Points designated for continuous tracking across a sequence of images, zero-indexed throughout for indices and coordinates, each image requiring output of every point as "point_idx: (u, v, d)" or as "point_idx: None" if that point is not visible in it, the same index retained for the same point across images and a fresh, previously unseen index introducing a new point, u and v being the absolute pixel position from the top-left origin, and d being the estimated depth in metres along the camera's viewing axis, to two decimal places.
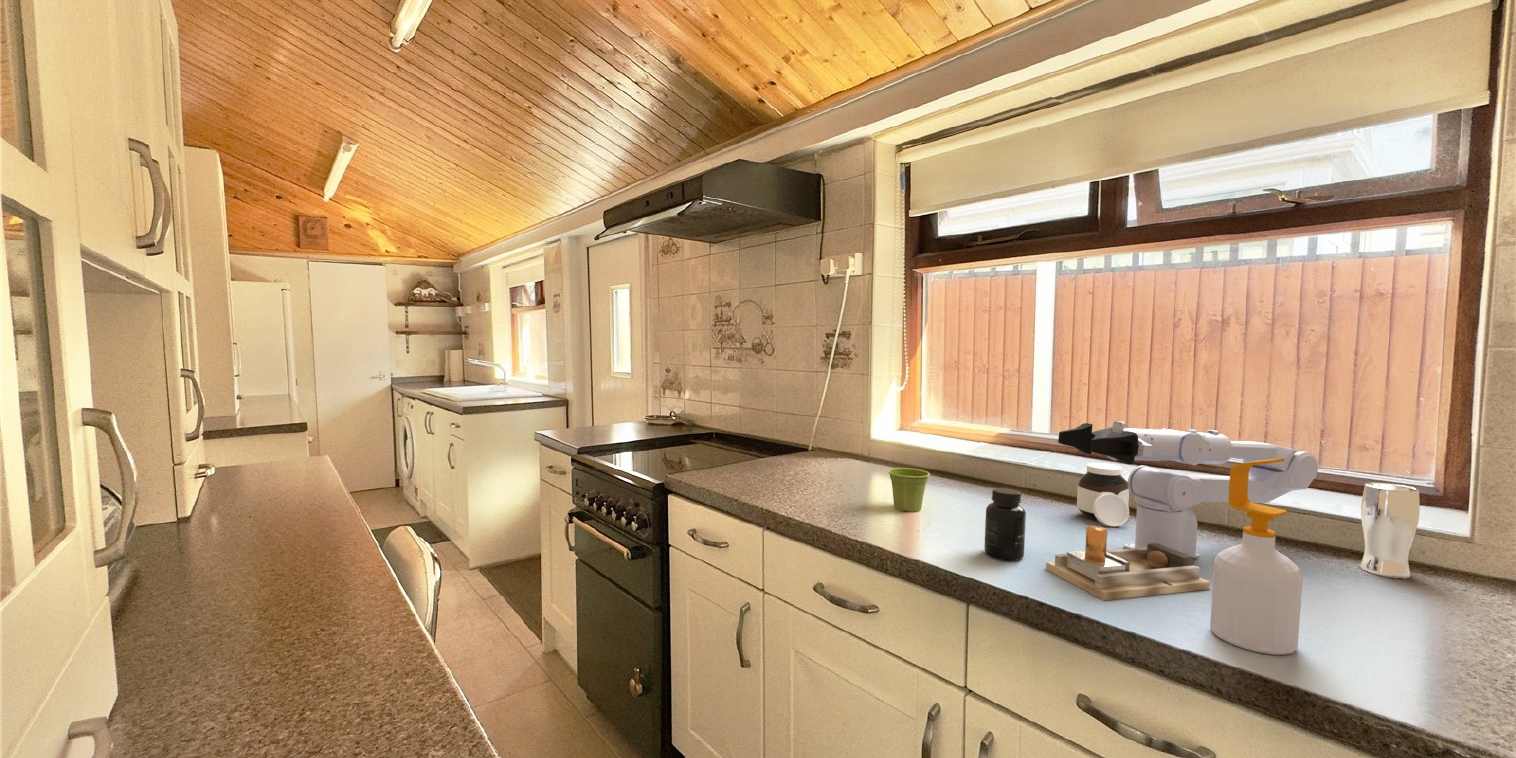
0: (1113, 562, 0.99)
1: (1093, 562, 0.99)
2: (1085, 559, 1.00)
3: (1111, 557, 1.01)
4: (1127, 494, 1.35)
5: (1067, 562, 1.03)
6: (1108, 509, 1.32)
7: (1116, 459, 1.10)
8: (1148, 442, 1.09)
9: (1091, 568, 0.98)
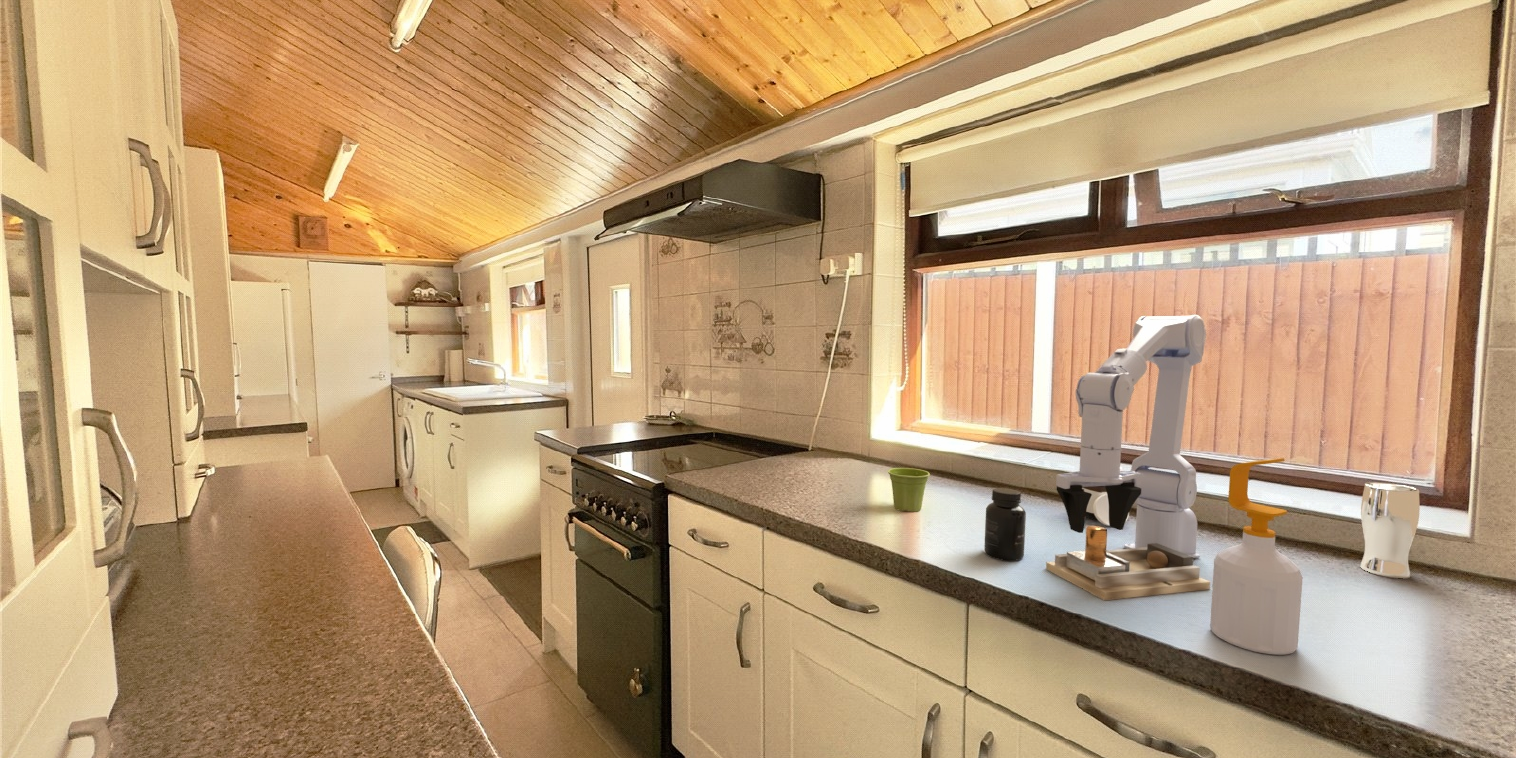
0: (1113, 562, 0.99)
1: (1093, 562, 0.99)
2: (1085, 559, 1.00)
3: (1111, 557, 1.01)
4: None
5: (1067, 562, 1.03)
6: (1108, 509, 1.32)
7: None
8: None
9: (1091, 568, 0.98)
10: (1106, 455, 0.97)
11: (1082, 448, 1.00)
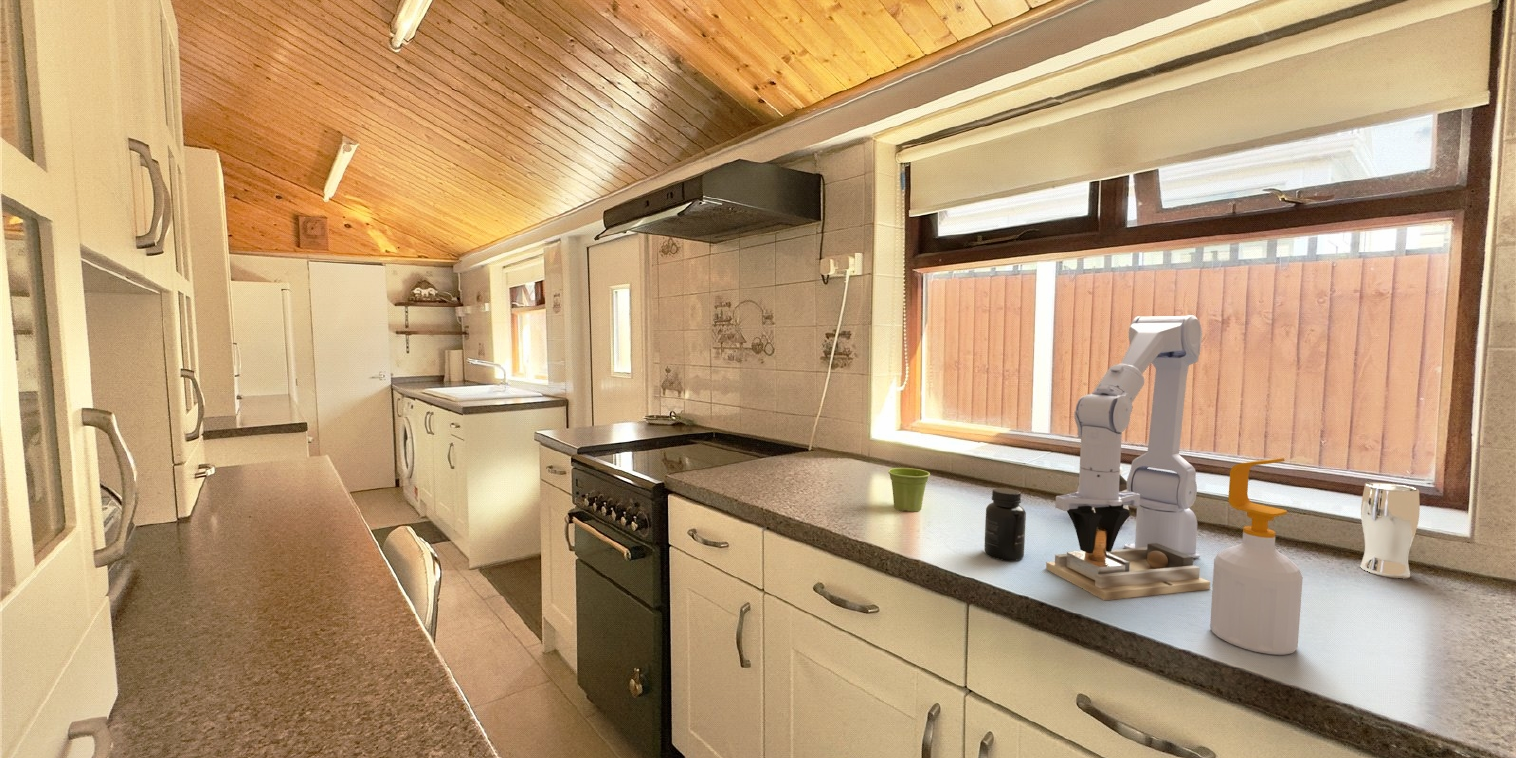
0: (1113, 562, 0.99)
1: (1093, 562, 0.99)
2: (1085, 559, 1.00)
3: (1111, 557, 1.01)
4: None
5: (1067, 562, 1.03)
6: None
7: None
8: None
9: (1091, 568, 0.98)
10: (1105, 477, 0.97)
11: (1081, 469, 1.00)
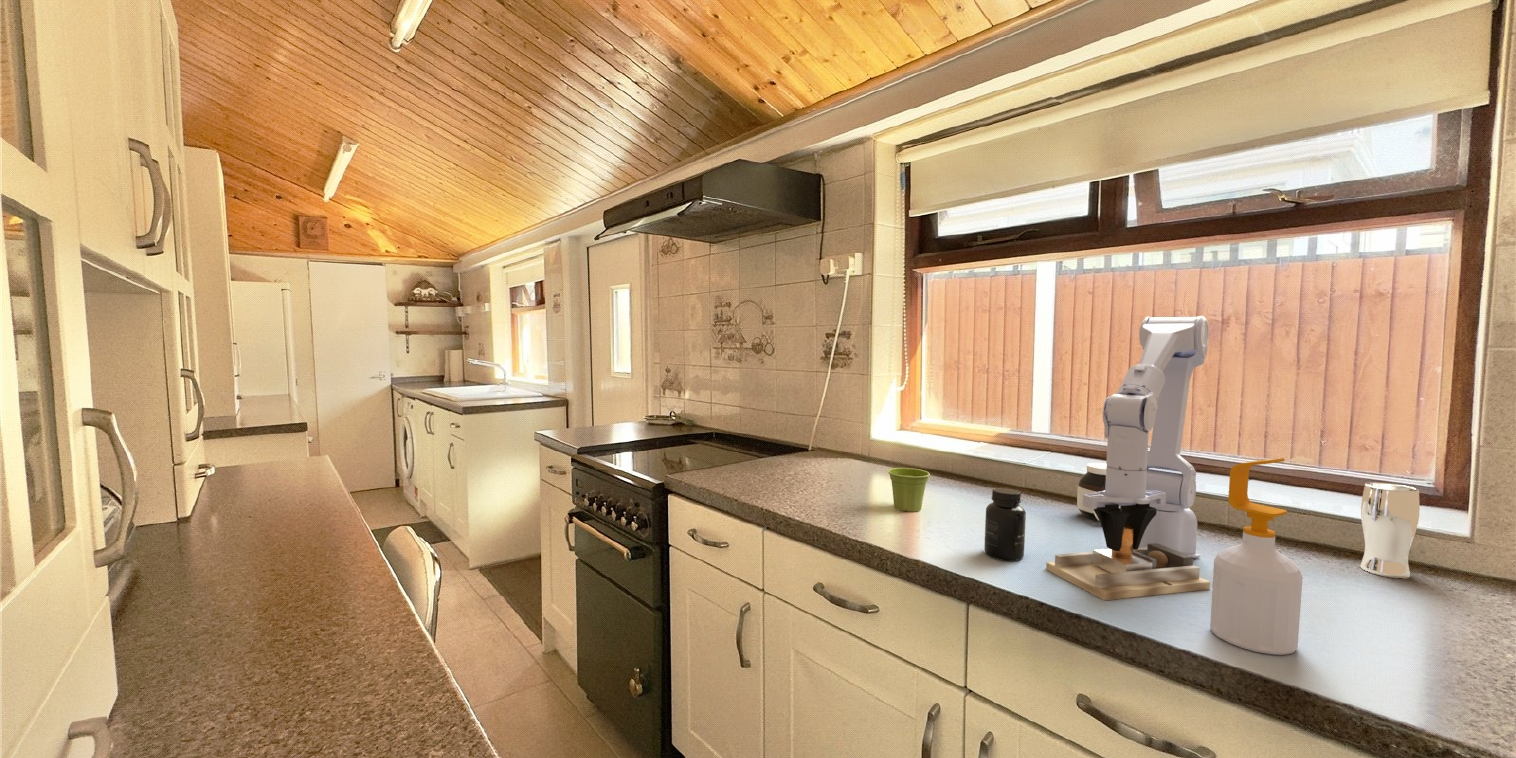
0: (1140, 560, 1.00)
1: (1121, 560, 1.00)
2: (1112, 557, 1.01)
3: (1137, 555, 1.02)
4: None
5: (1093, 560, 1.05)
6: None
7: None
8: None
9: (1119, 565, 0.99)
10: (1132, 476, 0.98)
11: (1108, 468, 1.01)
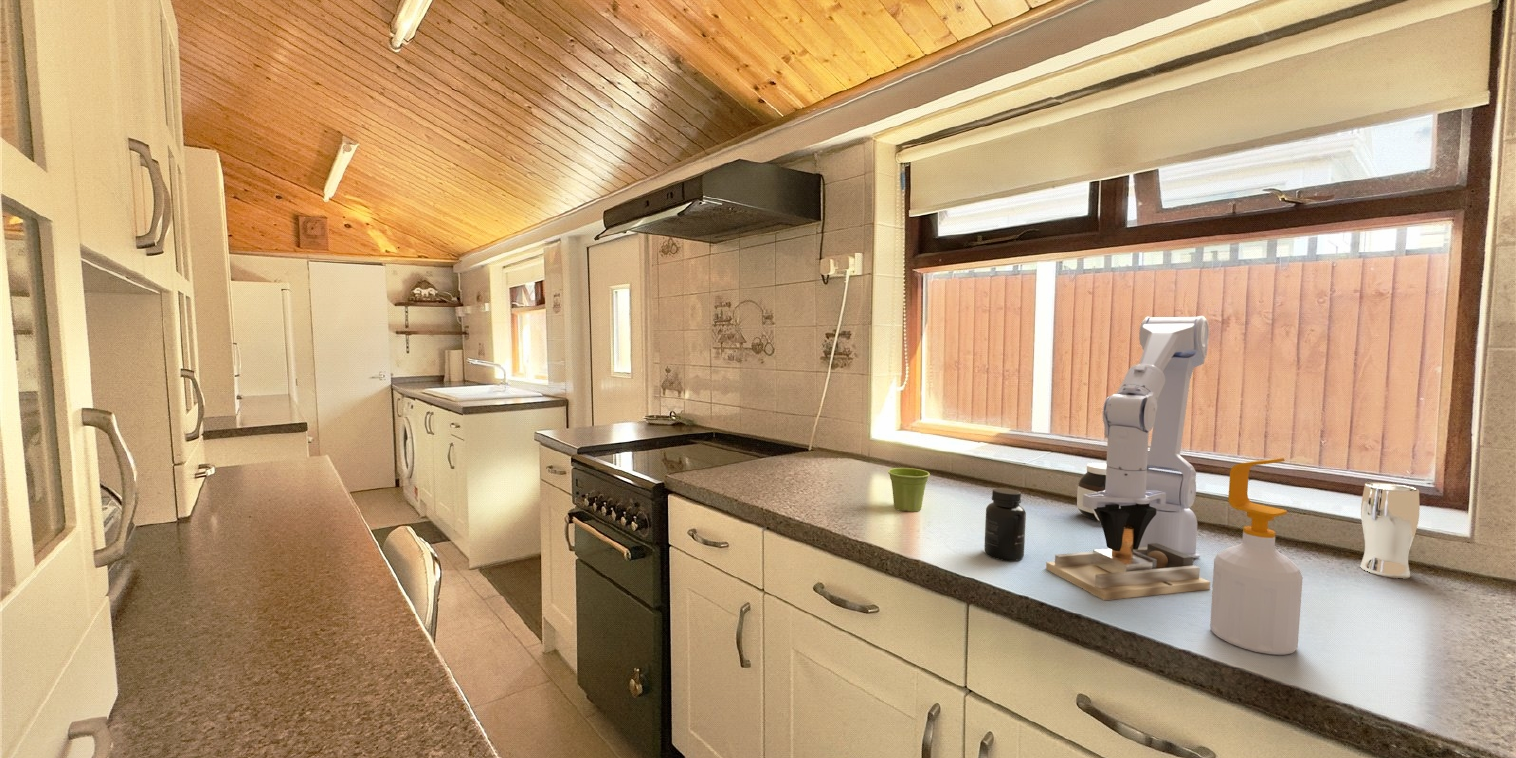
0: (1140, 560, 1.00)
1: (1121, 560, 1.00)
2: (1112, 557, 1.01)
3: (1138, 555, 1.02)
4: None
5: (1094, 560, 1.05)
6: None
7: None
8: None
9: (1119, 565, 0.99)
10: (1132, 476, 0.98)
11: (1108, 468, 1.01)
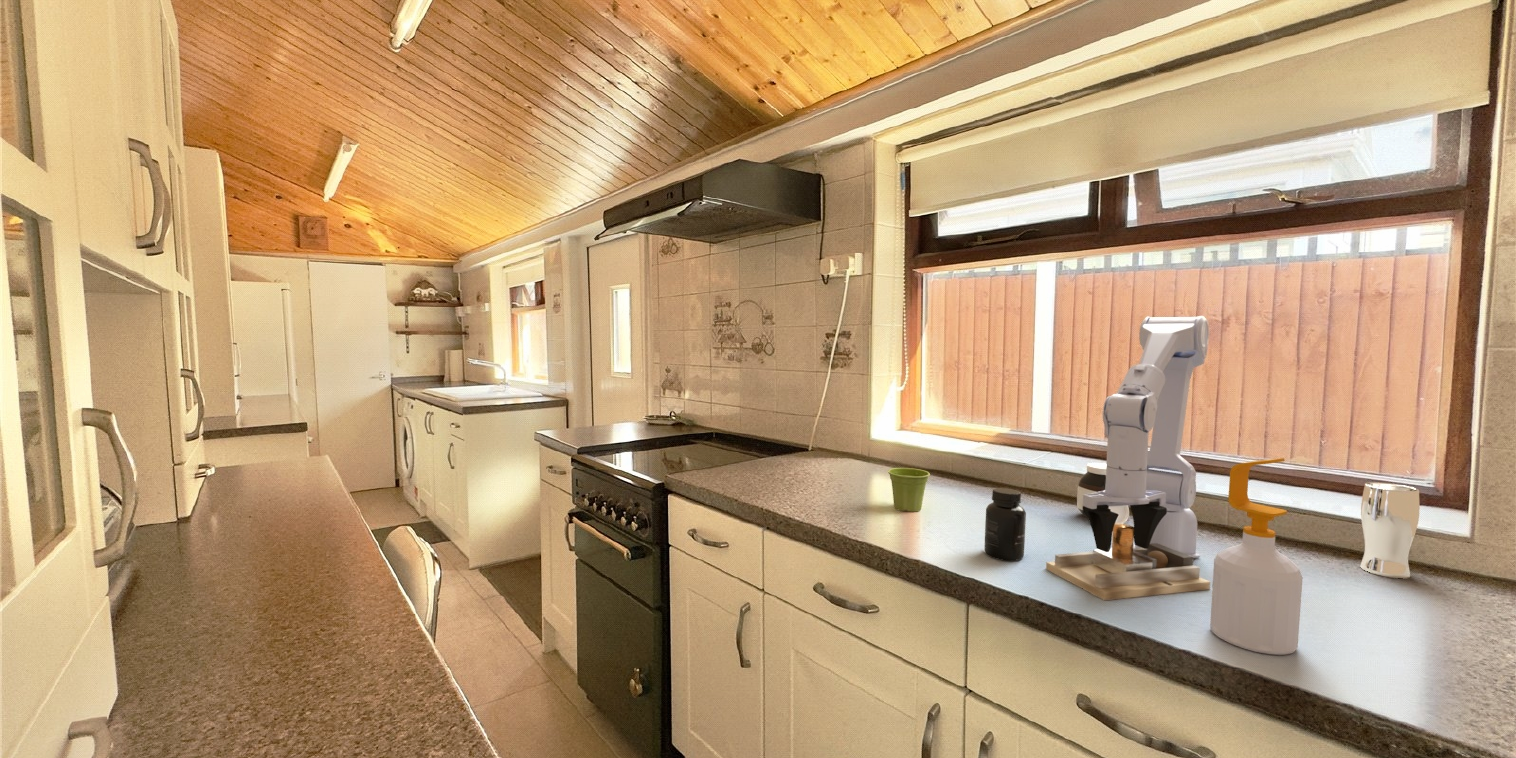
0: (1140, 560, 1.00)
1: (1121, 560, 1.00)
2: (1112, 557, 1.01)
3: (1138, 555, 1.02)
4: None
5: (1094, 560, 1.05)
6: None
7: None
8: None
9: (1119, 565, 0.99)
10: (1132, 476, 0.98)
11: (1108, 468, 1.01)
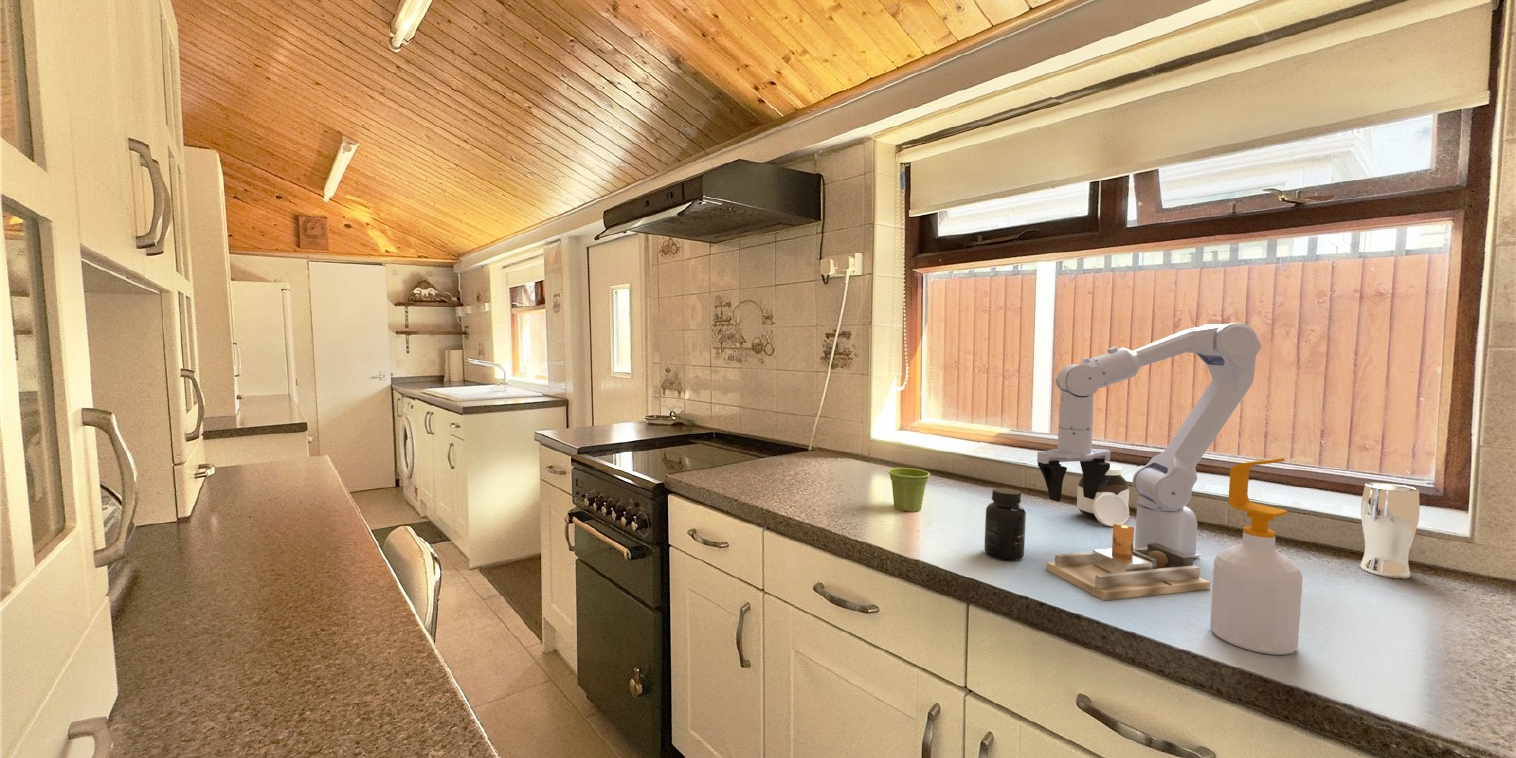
0: (1140, 560, 1.00)
1: (1121, 560, 1.00)
2: (1112, 557, 1.01)
3: (1138, 555, 1.02)
4: (1127, 494, 1.35)
5: (1094, 560, 1.05)
6: (1108, 509, 1.32)
7: None
8: None
9: (1119, 565, 0.99)
10: (1079, 434, 1.13)
11: (1059, 429, 1.16)
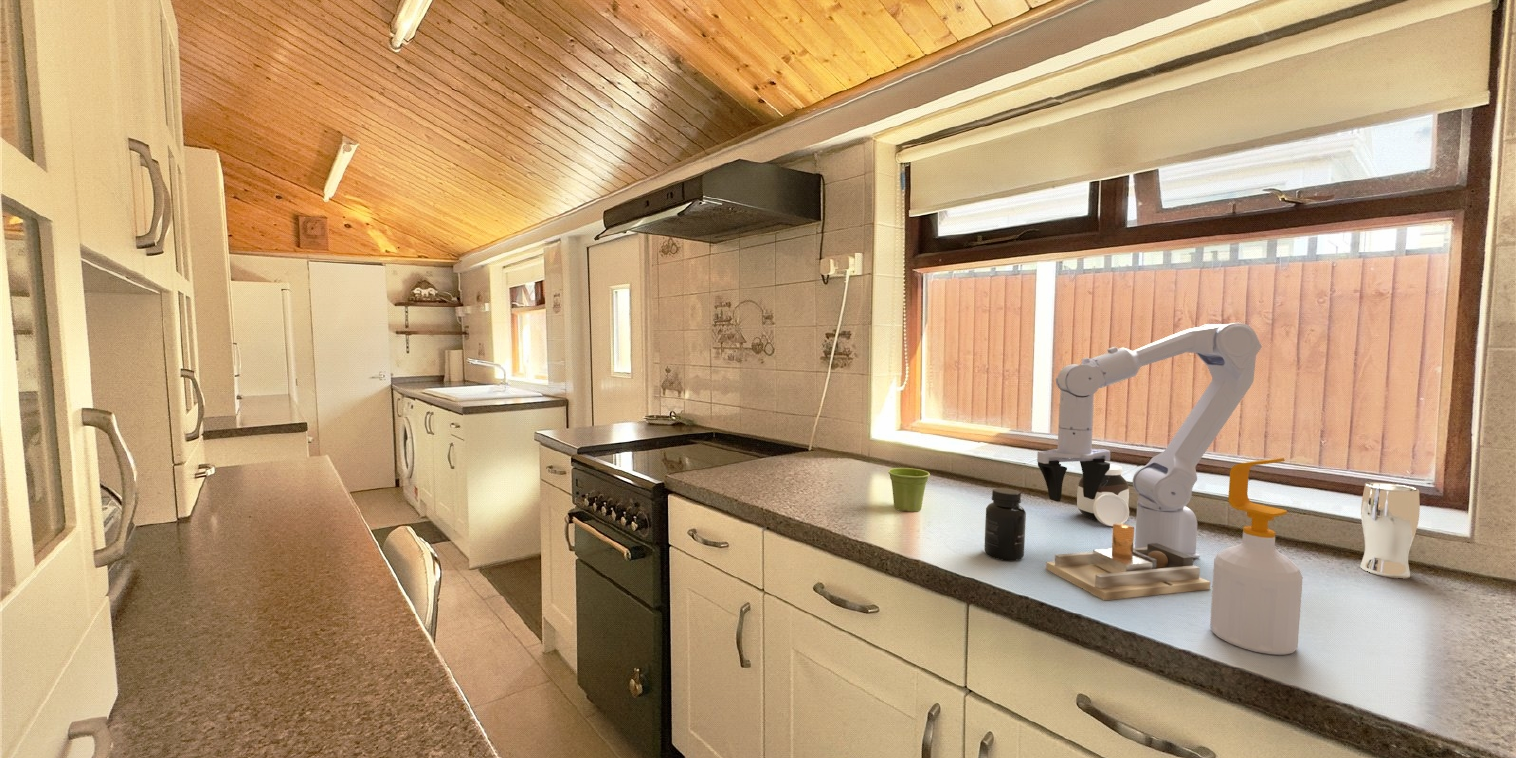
0: (1140, 560, 1.00)
1: (1121, 560, 1.00)
2: (1112, 557, 1.01)
3: (1138, 555, 1.02)
4: (1127, 494, 1.35)
5: (1094, 560, 1.05)
6: (1108, 509, 1.32)
7: None
8: None
9: (1119, 565, 0.99)
10: (1079, 434, 1.13)
11: (1059, 429, 1.16)
